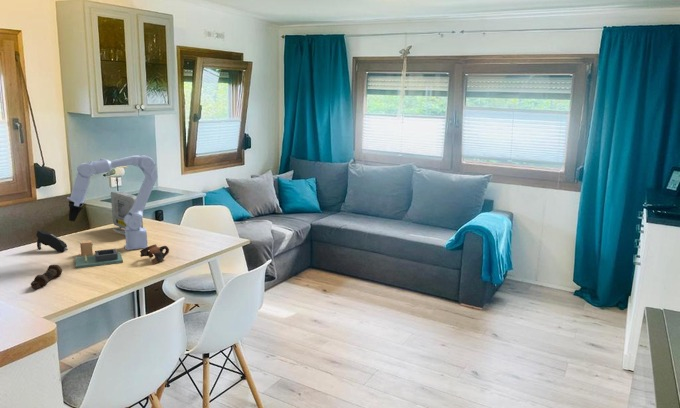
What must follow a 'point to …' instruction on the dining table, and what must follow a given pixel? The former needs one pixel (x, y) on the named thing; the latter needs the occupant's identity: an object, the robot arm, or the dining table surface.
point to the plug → (86, 248)
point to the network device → (121, 208)
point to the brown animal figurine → (155, 253)
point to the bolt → (46, 276)
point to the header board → (99, 258)
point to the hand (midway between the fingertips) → (71, 219)
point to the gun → (50, 241)
